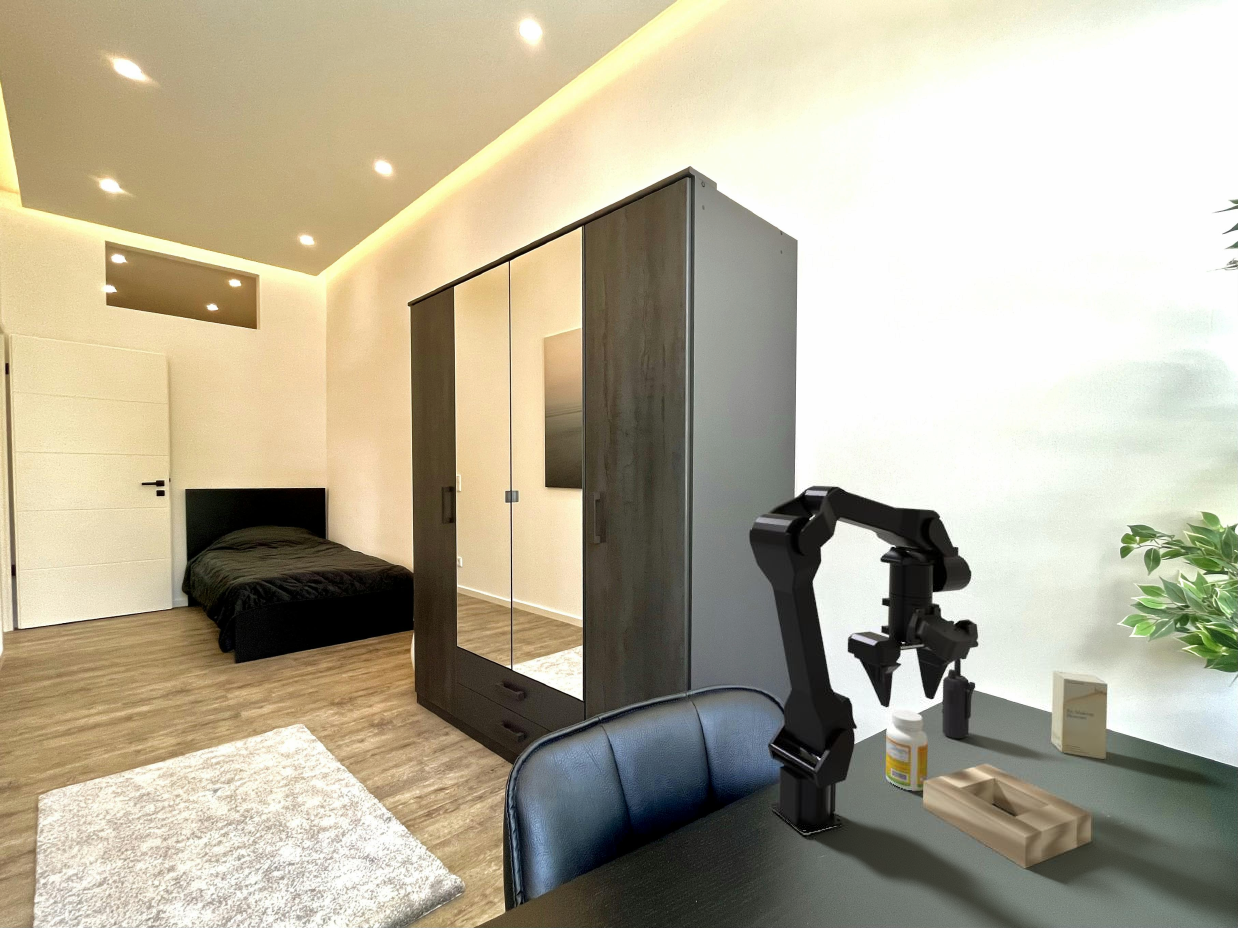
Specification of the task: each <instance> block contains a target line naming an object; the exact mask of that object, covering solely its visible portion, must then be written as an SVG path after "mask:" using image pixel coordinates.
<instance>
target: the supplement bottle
mask: <svg viewBox="0 0 1238 928" xmlns="http://www.w3.org/2000/svg"><path fill="white" fill-rule="evenodd" d="M923 720H924V719H923V717H922V715H920V713H917V712H914V711H911V710H906V709H894V710H893V711H892V712H891V722H892V724H890V725H889V726H887V728H886V736H885V737H886V740H885V741H886V743H885V744H886V745H885V747H886V748H885V778H886V780H887V781H888V782H889V783H890V782H891V783H892V784H891V783H890V784H891V785H893V784H894V785H896V786H898V787H900V788H899V789H901V788H903V789H902V790H904V789H906V790H905V791H908V790H912V791H911V792H919V791H920V792H921V791H923V781H925V780H928V751H929V749H928V748H929V747H928V746H929V745H928V744H929V741H928V740H929V739H928V736H927V733H925V731H923V730H922V729H923V727H924V726H923V725H924V723H923V722H924V721H923ZM894 785H893V786H894ZM896 786H895V787H896ZM898 787H897V788H898Z"/></svg>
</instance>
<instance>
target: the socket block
mask: <svg viewBox="0 0 1238 928" xmlns="http://www.w3.org/2000/svg"><path fill="white" fill-rule="evenodd" d="M922 791H923V793H922V797H923V799H922V808H923V807H924V808H923V809H925V810H926V811H928V812H930V813H931V814H933V815H934V816H936V817H938V818H940V819H942V820H943V821H945V822H947V823H948V824H950V825H951V826H954V827H955V828H957V829H958V830H960V831H962V832H964V833H965V834H967V835H968V836H970V837H972V838H974V839H975V840H977V841H979V842H981V844H984V845H985V846H987V847H989V848H991V849H992V850H994V851H995V852H997V853H998V854H1001V856H1004V857H1006V859H1009V860H1010V861H1012V862H1013V863H1015V864H1017V865H1018V866H1021V867H1022V868H1023V869H1027V868H1029V867H1031V866H1034V865H1036V864H1039V863H1041V862H1044V861H1046V860H1050V859H1051V858H1052V859H1053V858H1054V857H1057V856H1059V855H1061V854H1064V853H1066V852H1069V851H1071V850H1074V849H1076V848H1079V847H1081V846H1083V845H1085V844H1089V843H1090V842H1092V812H1091V811H1088V810H1087V809H1084V808H1082V807H1081V806H1078V805H1076V804H1074V803H1071V802H1069V801H1067V800H1065V799H1063V798H1061V797H1060V796H1057V795H1055V794H1052V793H1050V792H1048V791H1046V790H1044V789H1041V788H1039V787H1037V786H1035V785H1033V784H1031V783H1029V782H1028V781H1027V782H1026V781H1024V780H1022V779H1021V778H1018V777H1016V776H1014V775H1012V774H1009V773H1007V772H1005V771H1004V770H1001V769H1000V768H997V767H994V766H992V765H991V764H989V763H983V764H980V765H977V766H973V767H969V768H965V769H963V770H962V769H961V770H959V771H955V772H951V773H948V774H943V775H940V776H936V777H933V778H928V779H927V780H925V781H923V790H922ZM993 804H994V805H993ZM995 805H996V806H997V807H996V806H995ZM1006 811H1007V812H1006ZM1008 812H1009V813H1008Z"/></svg>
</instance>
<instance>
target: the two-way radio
mask: <svg viewBox="0 0 1238 928" xmlns="http://www.w3.org/2000/svg"><path fill="white" fill-rule="evenodd" d="M961 661H962V659H957V660H955V661H953V662H954V665H953V667H954V668H953V669H949V670H948V672H947V673H948V674H947V676H945V677H944V678H942V679H943V681H942V701H941V702H942V703H941V704H942V710H941V712H942V733H943V735H944V736H946V737H949V738H952V739H956V740H957V739H963V738H966V737H967V736H968V735H969V731H970V730H969V726H970V725H969V720H970V718H971V717H972V715H971V714H972V713H971V712H972V698H973V693H974V690H975V689H976V682H973V681H969V679H967V678H966V676H964V675H962V674H961V673H962V669H961V668H962V667H961V666H962V665H961V664H962V663H961Z"/></svg>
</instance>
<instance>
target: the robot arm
mask: <svg viewBox="0 0 1238 928" xmlns="http://www.w3.org/2000/svg"><path fill="white" fill-rule="evenodd" d="M837 522H840V523H841V522H842V523H844V524H848V525H851V526H854V527H855V526H856V527H857V528H858V527H859V528H862V529H865V530H868V531H872V532H873V533H875V535H876V537H877V538H878V539H880V540H882V541H883V542H885V543H886V544H889V545H891V547H890V549H888V551H886V552H885V553H883V555H882V556H881V557H880V558H879V561H880V562H881V563H883V564H889V568H888V569H889V574H888V578H889V579H888V580H889V581H888V597H883V598H881V605H882V606H884V607H888V609H887V610H888V611H887V612H888V613H887V614H888V615H887V625H881V628H880V631H881V632H880V633H881V634H879V633H875V632H872V631H863V632H853V633H851V634H850V635H849V636H848V638H847V653H850V654H852V655H853V658H855V659H857V660H859V662H860V663H861V665H862V667H863V669H864V671H865V672H866V674H867V677H868V679H869V681H870V683H871V685H872V688H873V690H874V693H875V695H876V697H877V699H878V701H879V703H880V705H881V706H882V707H884V708H889V707H890V703H891V696H892V686H893V676H894V672H895V671H896V670H898V669H899V668H900V667H901V666H902V663H900V662H898V661H899V659H900V658H901V653H902V651H907V650H915V651H916V657H917V661H918V668H919V672H920V674H919V675H920V678H921V679H920V680H921V685H922V689H923V692H924V697H925V698H926V699H929V700H933V699H935V696H936V693H937V691H938V688H939V687H940V684H941V681H942V679H943V677H944V675H945V672H946V671H947V668H948V667H949V665H950V664H951V663H953V662H954V661H955V660H957V659H961V661H962V660H966V659H967V657H968V655H969V653H970V650H971V649H972V648H977V647H978V646H979V641H978V638H979V632H978V624H977V623H975V622H974V621H972V620H970V619H960V620H958V621H957V622H955V621H954V620H947V619H945V618H943V617H942V607H940V604H939V603H934V602H933V599H934V598H933V596H934V595H933V593H944V592H953V591H954V592H955V591H960V590H963V589H965V588H967V587H968V585H969V584H970V581H971V579H972V570H971V569H970V566H969V563H968V562H967V561H966V559H964V557H962V556H961V555H960V554H959V547H958V546H954V545H953V543H952V541H951V538H950V536H949V534H948V532H947V529H946V527H945V525H944V522H943V520H941V515H940V514H939V513H938V512H937V511H936V510H934V509H922V508H912V507H911V508H908V507H897V506H896V507H895V506H892V505H890V504H885V503H883V502H879V501H876V500H874V499H871V498H868V497H864V496H861V495H858V494H855V493H852V492H850V491H847V490H845V489H843V488H841V487H840V486H835V485H834V486H831V485H829V486H828V485H826V486H825V485H812V486H809V487H808V488H806V489H805V490H803V491H802V492H801V493H800V494H799V495H798V496H795V497H794V498H792V499H789V500H787V501H785V502H783V503H781V504H779V505H776V506H775V507H774V508H772V509H771V510H770V511H768V513H763V514H762V515H760V516H759V517H758V518H757V519H756V520H754V522H753V525H752V527H751V528H750V529H749V533H748V536H749V538H748V539H749V544H750V547H751V550H752V553H753V556H754V559H755V562H756V565H757V567H758V568H759V569H760V570H761V572H762V573H763V574H764V576H765V578H766V579H767V580H768V581H769V583H770V584H771V587H772V590H773V591H772V592H773V596H774V601H775V602H774V603H775V606H776V613H777V618H778V624H779V628H780V629H779V630H780V633H781V635H780V636H781V638H782V640H781V641H782V646H783V650H784V655H785V656H784V657H785V662H786V667H787V672H788V677H789V678H788V679H789V683H790V691H789V694H788V696H787V697H786V700H785V702H784V705H783V718H784V719H783V720H782V722H781V724H780V725H779V727H778V728H777V730H776V731H775V733H774V734H773V735H772V738H771V739H770V740H769V742H768V744H767V749H768V752H769V756H770V758H771V759H772V760H774V761H777V762H778V763H780V764H782V766H779V791H778V792H779V793H778V794H779V797H778V798H779V800H778V801H779V802H775V803H772V804H770V808H771V807H772V808H773V809H775V810H776V811H777V812H778V813H779V814H780V815H781V816H782V817H783V818H784V819H785V820H787V821H788V822H789V823H790V824H792V825H793V826H794V827H796V828H797V829H798V830H799V831H801V832H803V833H809V832H814V831H818V830H822V829H826V828H829V827H834V826H839V827H841V826H840V825H842V824H844V821H843V819H842V818H840V817H839V816H838V815H836V814H835V812H836V792H837V791H836V789H837V784H838V783H841V782H844V781H846V780H847V776H848V772H849V768H850V765H851V761H852V757H853V753H854V749H855V743H856V740H855V739H856V737H855V730H857V728H858V726H857V724H856V723H855V719H854V714H853V712H854V711H853V703H852V701H851V698H850V697H847V696H845V695H842V694H841V693H838V692H835V690H833V687H832V685H831V679H830V674H829V673H830V672H829V667H828V662H827V656H826V652H825V646H824V641H823V639H824V638H823V634H822V628H821V623H820V616H819V612H818V606H817V599H816V594H815V588H814V579H815V577H816V574H817V573H818V570H819V569H820V566H821V564H822V549H821V548H822V547H823V546H824V545H826V543H827V542H829V540H831V539H832V538H833V537H834V535H835V531H836V527H837ZM882 634H883V635H882ZM854 729H855V730H854ZM774 805H775V806H777V807H773V806H774ZM785 820H784V821H785ZM842 826H843V825H842ZM803 830H806V831H803Z"/></svg>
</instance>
